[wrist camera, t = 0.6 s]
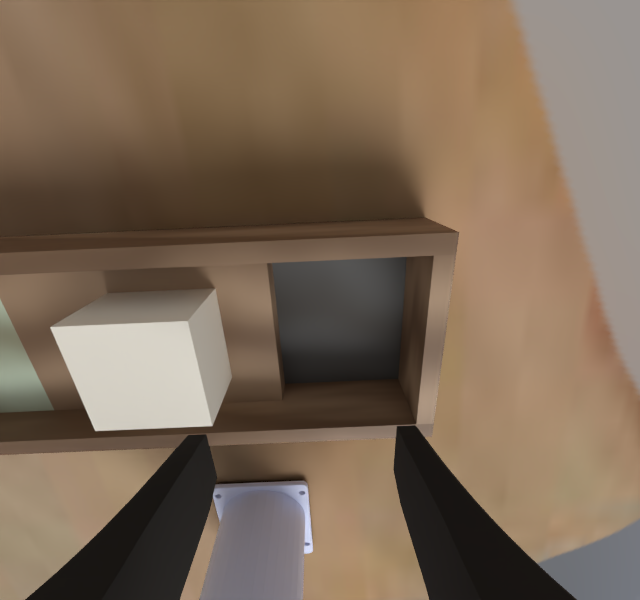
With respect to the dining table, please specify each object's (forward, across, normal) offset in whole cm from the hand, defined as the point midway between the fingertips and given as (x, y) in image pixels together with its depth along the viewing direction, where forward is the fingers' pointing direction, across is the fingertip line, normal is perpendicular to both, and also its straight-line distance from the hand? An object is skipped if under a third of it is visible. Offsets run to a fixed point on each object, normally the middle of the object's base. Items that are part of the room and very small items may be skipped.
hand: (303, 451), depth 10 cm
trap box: (+10, +9, 0) cm, 14 cm away
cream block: (+8, +8, 0) cm, 12 cm away
